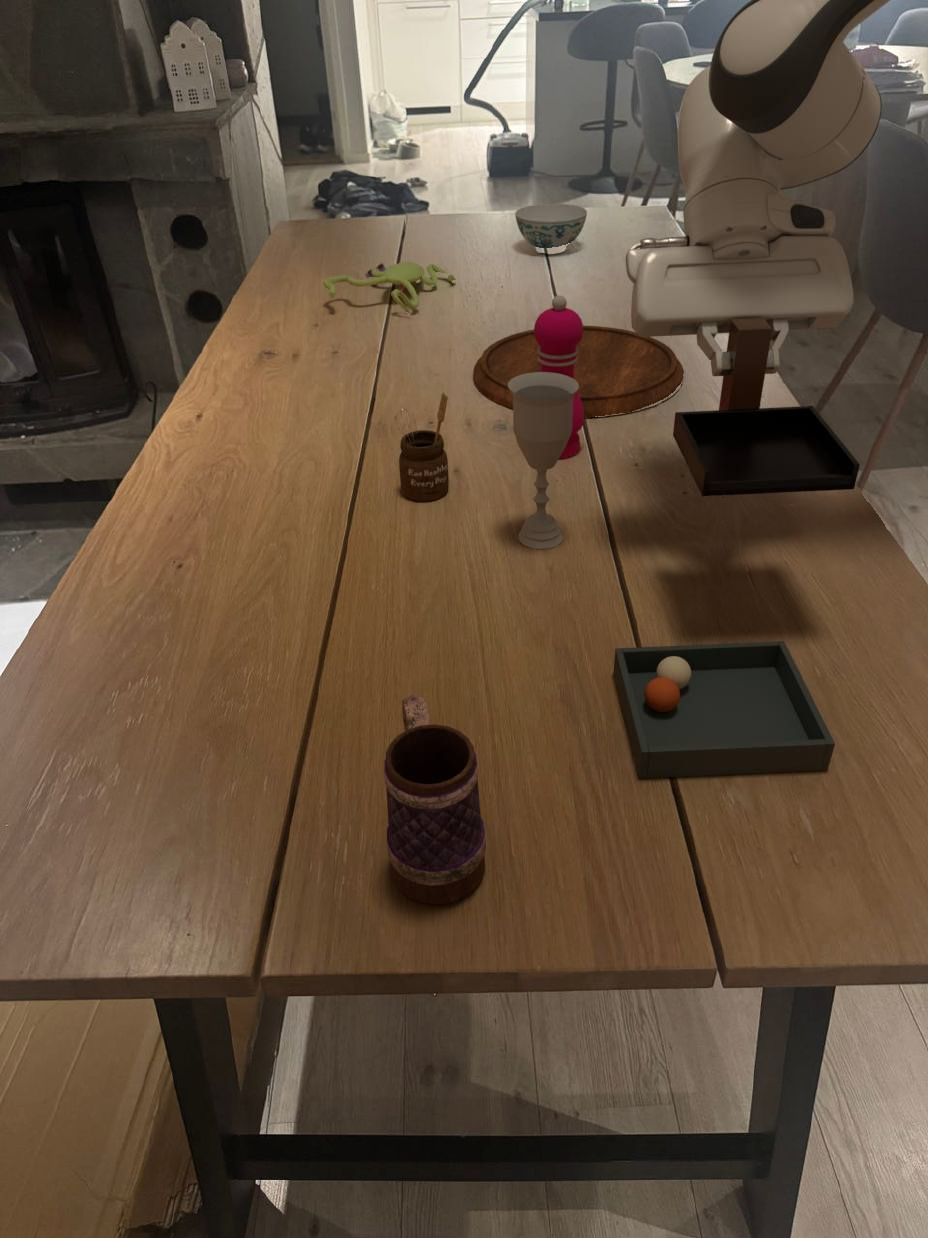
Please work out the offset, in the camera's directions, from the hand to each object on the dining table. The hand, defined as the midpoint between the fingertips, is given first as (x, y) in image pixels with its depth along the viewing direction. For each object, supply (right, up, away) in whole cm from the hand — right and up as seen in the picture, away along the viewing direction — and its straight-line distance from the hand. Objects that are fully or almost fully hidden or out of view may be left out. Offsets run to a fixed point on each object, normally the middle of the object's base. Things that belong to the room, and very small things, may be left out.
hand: (746, 372), depth 86 cm
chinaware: (-8, +56, +113) cm, 126 cm away
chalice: (-18, -14, +19) cm, 29 cm away
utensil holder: (-31, -7, +28) cm, 42 cm away
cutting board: (-9, +14, +56) cm, 59 cm away
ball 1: (-8, -28, -5) cm, 29 cm away
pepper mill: (-14, -1, +36) cm, 39 cm away
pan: (0, -8, -1) cm, 8 cm away
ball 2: (-9, -29, -7) cm, 32 cm away
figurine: (-40, +38, +90) cm, 106 cm away
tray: (-5, -32, -7) cm, 33 cm away
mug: (-28, -40, -17) cm, 52 cm away
